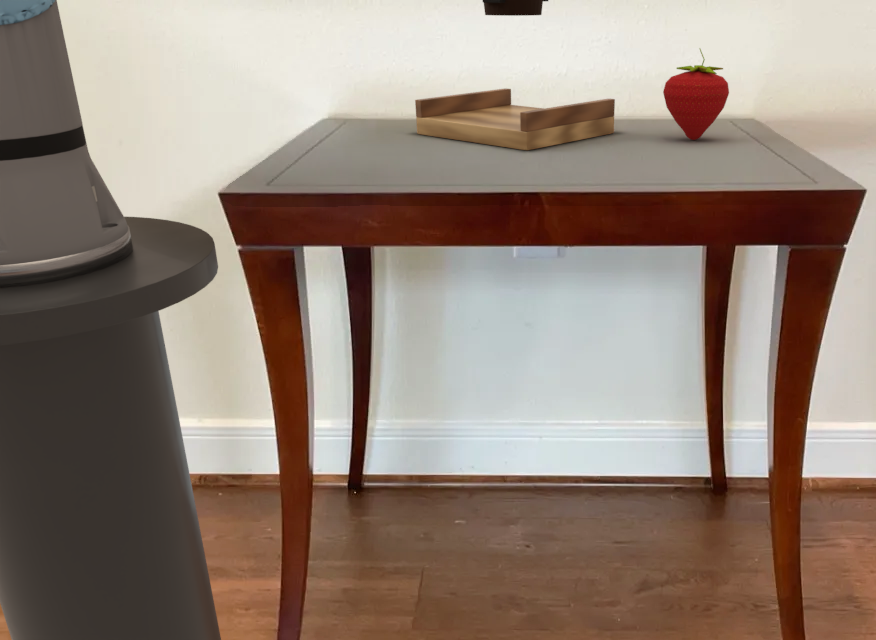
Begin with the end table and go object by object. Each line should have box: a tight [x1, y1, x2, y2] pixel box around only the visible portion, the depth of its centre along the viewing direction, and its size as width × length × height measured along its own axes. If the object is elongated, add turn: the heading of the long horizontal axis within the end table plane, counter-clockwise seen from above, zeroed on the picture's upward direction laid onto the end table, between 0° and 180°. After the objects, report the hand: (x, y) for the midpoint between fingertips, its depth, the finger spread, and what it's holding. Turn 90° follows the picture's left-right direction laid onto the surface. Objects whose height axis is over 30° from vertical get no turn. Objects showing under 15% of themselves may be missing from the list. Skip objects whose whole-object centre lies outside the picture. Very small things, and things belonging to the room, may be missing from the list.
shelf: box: [414, 87, 616, 151], centre depth 109 cm, size 16×18×4 cm
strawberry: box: [662, 47, 730, 141], centre depth 103 cm, size 6×8×10 cm
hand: (516, 1), depth 102 cm, fingers closed on coffee mug, 7 cm apart
